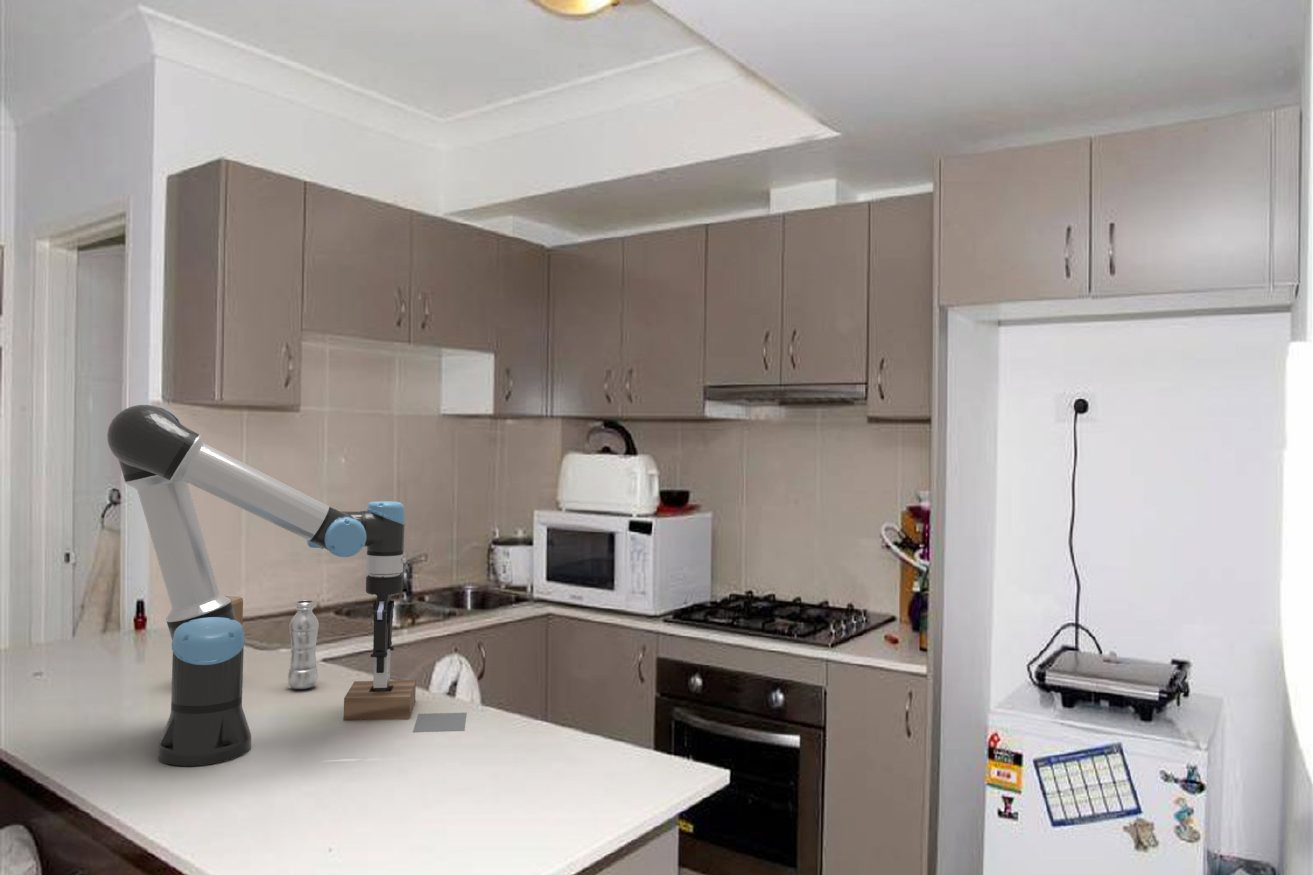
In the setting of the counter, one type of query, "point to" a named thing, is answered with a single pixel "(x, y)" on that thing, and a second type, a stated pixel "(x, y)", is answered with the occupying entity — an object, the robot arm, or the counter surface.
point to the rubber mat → (440, 722)
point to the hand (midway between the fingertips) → (381, 684)
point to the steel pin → (387, 676)
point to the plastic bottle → (303, 647)
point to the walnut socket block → (379, 701)
